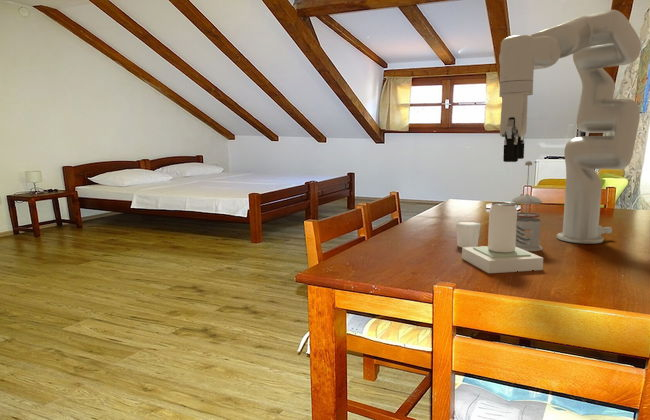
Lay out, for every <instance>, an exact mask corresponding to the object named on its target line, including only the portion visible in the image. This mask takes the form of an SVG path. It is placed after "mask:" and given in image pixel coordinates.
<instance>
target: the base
mask: <svg viewBox="0 0 650 420" xmlns="http://www.w3.org/2000/svg"><path fill="white" fill-rule="evenodd" d="M461 248H462V249H461V259H462V260H464V261H466V262H468V263H469V264H471V265H473V266H475V267H476V268H478V269H480V270H482V271H484V272H485V273H487V274H498V273H499V274H500V273H501V274H502V273H515V272H517V271H518V272H531V271H532V270H534V271H543V269H544V257H542V256H539V255H537V254H535V253H533V252H531V251H525V250H523V249H520V248H518V247H515V251H514V252H512V253H496V252H492V251H490V250H489V249H488V245H486V246H485V245H484V246H483V245H481V246H477V247H461Z"/></svg>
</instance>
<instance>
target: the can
mask: <svg viewBox="0 0 650 420" xmlns="http://www.w3.org/2000/svg"><path fill="white" fill-rule="evenodd" d="M516 207H517V204H515V202H504V201H496V202H495V201H494V202H492V203H491V206H490V208H489V214H488V217H489V218H488V234H487V235H488V236H487V240H488V241H487V242H488V243H487V246H488V249H489V250H490V251H492V252H496V253H512V252H514V251H515V244H516V225H517V212H518V210H517V209H518V208H516Z"/></svg>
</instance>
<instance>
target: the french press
mask: <svg viewBox="0 0 650 420" xmlns="http://www.w3.org/2000/svg"><path fill="white" fill-rule="evenodd" d="M524 163H525V164H524V165H525V166H527V178H529V176H530V175H529V174H530V173H529V172H530V166H533V162H532V161H530V160H528V161H526V162H524ZM526 183H527V184H526V185H527V186H526V194H524V195H519V196H515V197H514V198H512V199H511V201H512V203H515V204H516V206H515V207H516V209H518V204H523V205H524V204H525V211H524V212H523V211H519V212H518V211H517V225H516V244H515V247H518V248H520V249H523V250H525V251H528V252H538V251H542V250H543V246H541V245H540V232H541V230H540V229H541V219H539V217H540V214H539V213H535V212H529V211H528V205H538V204H542V202H543V200H542V199H540V198H539V197H536V196H535V195H530V194H528V192H529V180H527V181H526ZM527 211H528V212H527ZM525 235H526V236H525Z"/></svg>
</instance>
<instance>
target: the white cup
mask: <svg viewBox="0 0 650 420" xmlns="http://www.w3.org/2000/svg"><path fill="white" fill-rule="evenodd" d="M455 224H456V226H455V227H456V242H457V246H458V247H460V248H462V247H478V245H479V243H478V242H479V238H480V237H479V236H480V231H481V230H480V228H481V223H480V222H477V221H470V220H461V221H457V222H456V223H455Z"/></svg>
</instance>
